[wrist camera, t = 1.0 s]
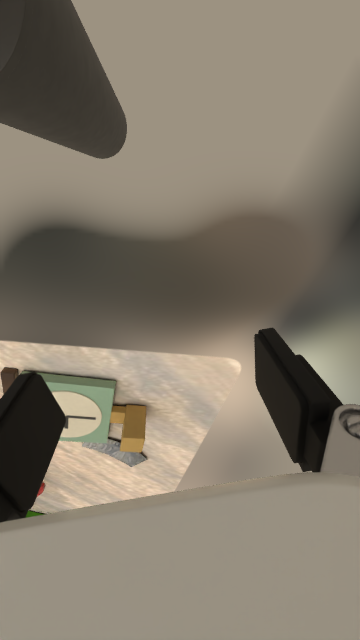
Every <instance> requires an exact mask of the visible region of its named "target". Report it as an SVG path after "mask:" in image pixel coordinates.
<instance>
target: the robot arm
mask: <svg viewBox="0 0 360 640" xmlns="http://www.w3.org/2000/svg"><path fill="white" fill-rule="evenodd" d="M255 379H256V386H257V389H258V391H259V393H260V395H261V397H262V399H263V401H264V403H265V405H266V407H267V409H268V411H269V414H270V416H271V418H272V419H273V422H274V424H275V426H276V428H277V430H278V432H279V434H280V436H281V438H282V441H283V443H284V445H285V447H286V449H287V451H288V453H289V455H290V457H291V459H292V461H293V462H294V463H299V465H300V467H301V469H302V471H303V472H306V471H312V472H309V473H308V472H307V473H295V474H286V475H277V476H270V477H264V478H257V479H250V480H243V481H237V482H230V483H224V484H219V485H213V486H207V487H201V488H195V489H189V490H183V491H177V492H171V493H165V494H159V495H153V496H147V497H141V498H136V499H130V500H124V501H118V502H112V503H107V504H101V505H95V506H90V507H84V508H78V509H72V510H67V511H61V512H56V513H50V514H44V515H39V516H33V517H28V518H25V517H26V515H27V512H28V510H29V509H30V508H31V507H32V506H33V504H34V502H35V500H36V497H37V494H38V492H39V489H40V487H41V484H42V482H43V479H44V477H45V474H46V472H47V469H48V467H49V464H50V461H51V459H52V456H53V454H54V451H55V449H56V446H57V444H58V441H59V439H60V436H61V434H62V431H63V428H64V426H65V423H66V417H65V414H64V412H63V411H62V409H61V407H60V406H59V404H58V402H57V401H56V399H55V397H54V396H53V394H52V392H51V391H50V389H49V387H48V386H47V384H46V382H45V381H44V379H43V377H42V376H41V375H40V374H37V373H36V372H29V373H24V374H20V375H18V376H17V377H16V379H15V380H14V382H13V383H12V384H11V386H10V387H9V388H8V390H7V391H6V392H5V394H4V395H3V396H2V398H1V399H0V640H360V405H356V404H346V405H343V404H342V403H341V401H340V400H339V399H338V398H337V397H336V395H335V394H334V393H333V392H332V391H331V389H330V388H329V387H328V386H327V385H326V383H325V382H324V381H323V380H322V379H321V378H320V376H319V375H318V374H317V373H316V372H315V370H314V369H313V368H312V367H311V365H310V364H309V363H308V362H307V361H306V360H305V358H304V357H303V356H301V355H295V354H294V353H293V352H292V350H291V349H290V348H289V347H288V345H287V344H286V343H285V342H284V340H283V339H282V338H281V337H280V335H279V334H278V333H277V332H276V330H275V329H274V328H268V329H262V330H259V332H258V334H255Z"/></svg>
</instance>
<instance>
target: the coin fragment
mask: <svg viewBox="0 0 360 640" xmlns="http://www.w3.org/2000/svg"><path fill="white" fill-rule="evenodd" d="M120 445H121V443H118V442H116V441H113V440H110V439H107V443H91V442H84V443H83V445H82V446H83V447H86V448H89V449H93V450H96V451H99V452H102V453H105V454H108V455H110V456H112V457H114V458H115V459H118V460H120V461H122V462H124V463H126V464H127V465H129V466H130V467H133V466H135V465H137V464H139V463H141V462H143V461H145V460H147V459H146V458H145V457H144V456H143V455H141V454H140V453H138V452H122V451H120Z"/></svg>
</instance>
